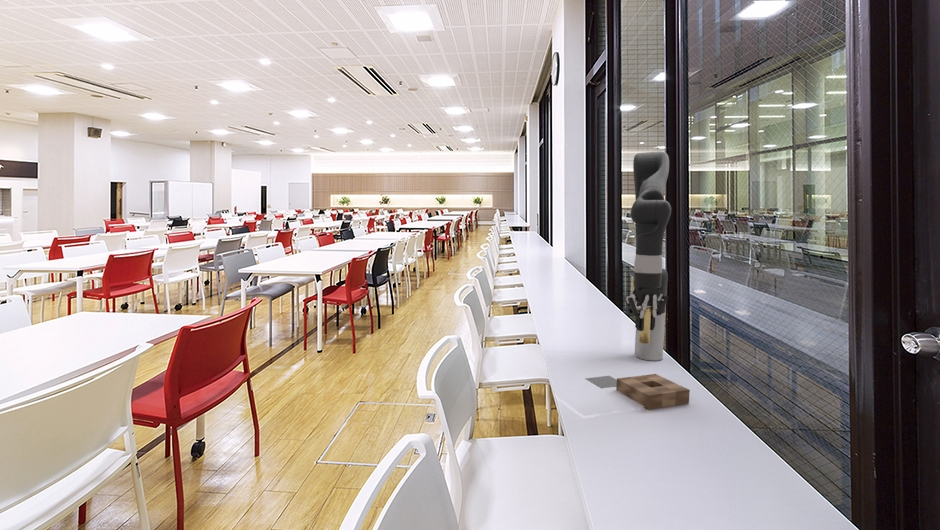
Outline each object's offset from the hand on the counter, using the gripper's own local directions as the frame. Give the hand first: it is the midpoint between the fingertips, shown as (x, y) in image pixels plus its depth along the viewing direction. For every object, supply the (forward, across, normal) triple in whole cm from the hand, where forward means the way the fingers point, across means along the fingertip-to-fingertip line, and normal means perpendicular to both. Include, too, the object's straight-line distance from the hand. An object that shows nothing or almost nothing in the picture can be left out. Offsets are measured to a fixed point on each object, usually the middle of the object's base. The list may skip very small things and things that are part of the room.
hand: (644, 329), depth 140 cm
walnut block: (+20, -2, +2) cm, 20 cm away
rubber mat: (+19, +5, -12) cm, 23 cm away
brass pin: (+4, 0, 0) cm, 4 cm away
